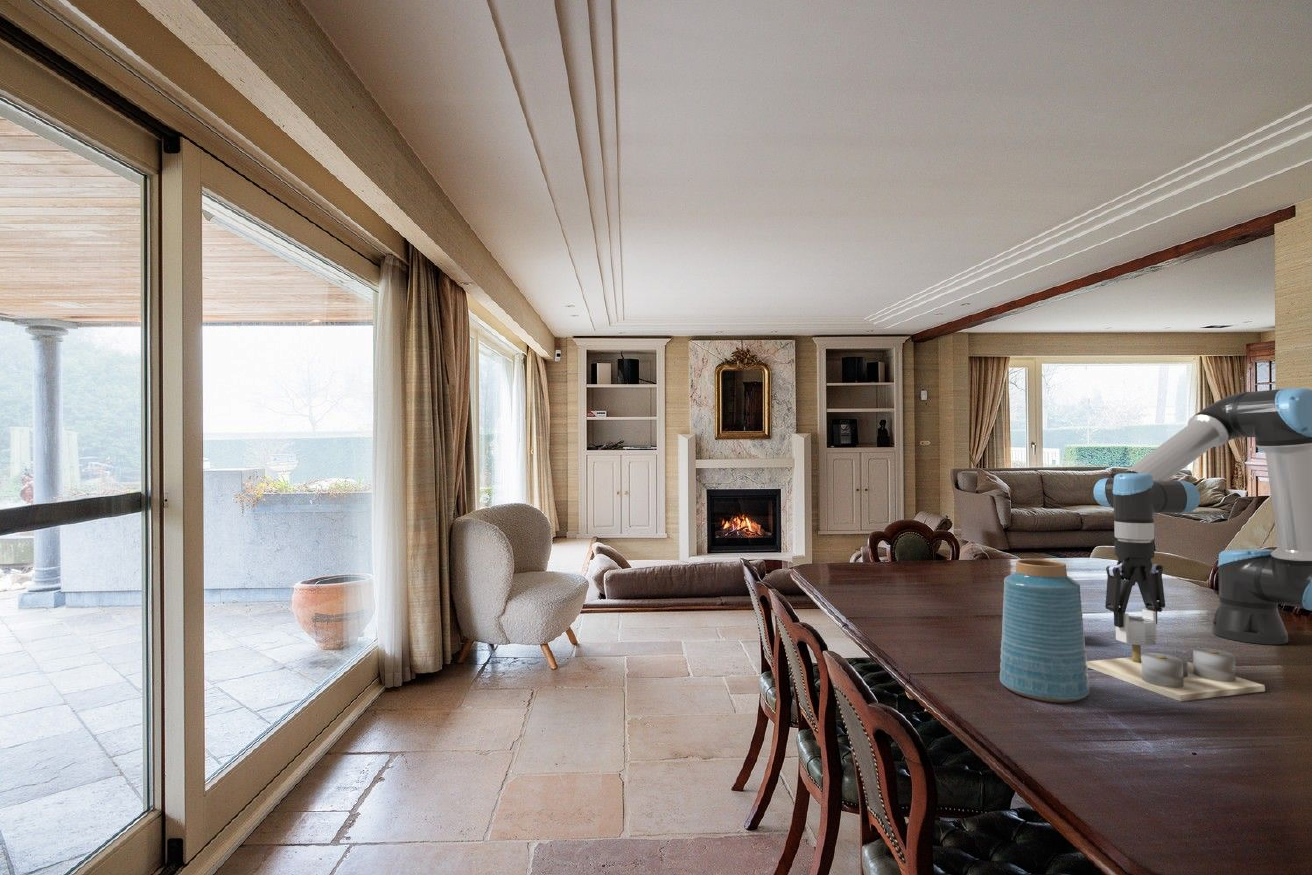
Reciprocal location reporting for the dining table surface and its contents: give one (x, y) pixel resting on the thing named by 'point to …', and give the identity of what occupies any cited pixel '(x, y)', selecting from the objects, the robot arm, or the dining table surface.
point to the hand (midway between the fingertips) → (1136, 639)
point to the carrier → (1180, 674)
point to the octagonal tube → (1141, 631)
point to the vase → (1043, 633)
